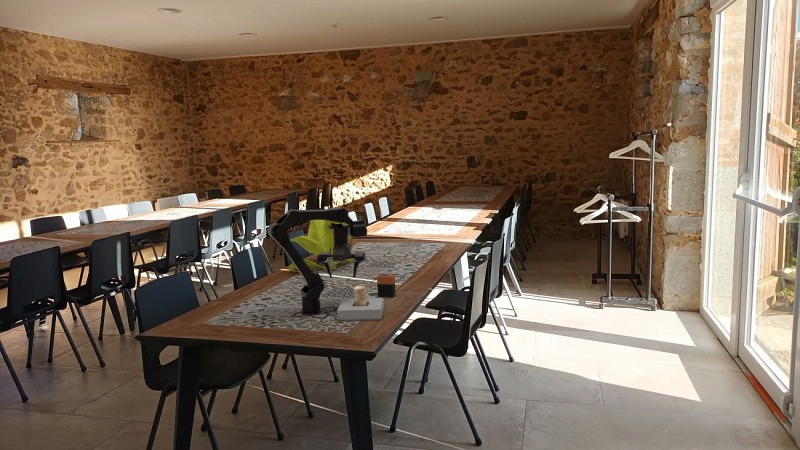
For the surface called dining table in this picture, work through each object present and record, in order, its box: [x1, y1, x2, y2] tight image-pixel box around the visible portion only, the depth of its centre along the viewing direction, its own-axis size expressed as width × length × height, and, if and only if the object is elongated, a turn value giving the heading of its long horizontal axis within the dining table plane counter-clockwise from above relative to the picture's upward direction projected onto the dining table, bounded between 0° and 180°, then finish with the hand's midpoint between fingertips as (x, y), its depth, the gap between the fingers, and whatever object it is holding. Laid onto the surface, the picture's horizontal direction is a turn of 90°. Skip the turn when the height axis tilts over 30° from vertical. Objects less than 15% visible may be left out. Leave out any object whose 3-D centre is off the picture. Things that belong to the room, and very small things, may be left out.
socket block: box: [336, 297, 385, 322], centre depth 236 cm, size 16×16×4 cm
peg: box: [354, 285, 367, 306], centre depth 236 cm, size 4×4×10 cm
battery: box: [376, 271, 397, 298], centre depth 261 cm, size 4×7×10 cm, turn 73°
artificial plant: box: [288, 220, 352, 272], centre depth 318 cm, size 42×43×30 cm
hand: (342, 278), depth 245 cm, fingers open, 9 cm apart
